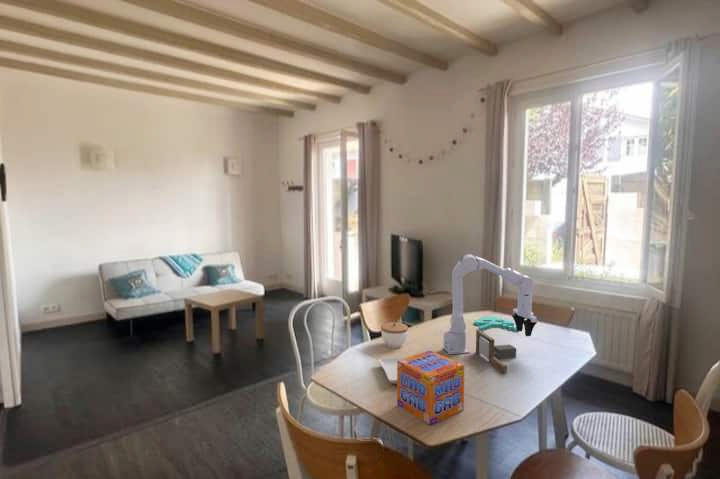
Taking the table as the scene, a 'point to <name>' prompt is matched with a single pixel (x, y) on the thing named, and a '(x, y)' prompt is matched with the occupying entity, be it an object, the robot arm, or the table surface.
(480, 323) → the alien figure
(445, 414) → the game box
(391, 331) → the lidded bowl
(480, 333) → the doorway frame
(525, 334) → the robot arm
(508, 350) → the tall grey block
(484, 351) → the flap
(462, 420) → the table surface
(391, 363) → the salad plate
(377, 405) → the table surface
